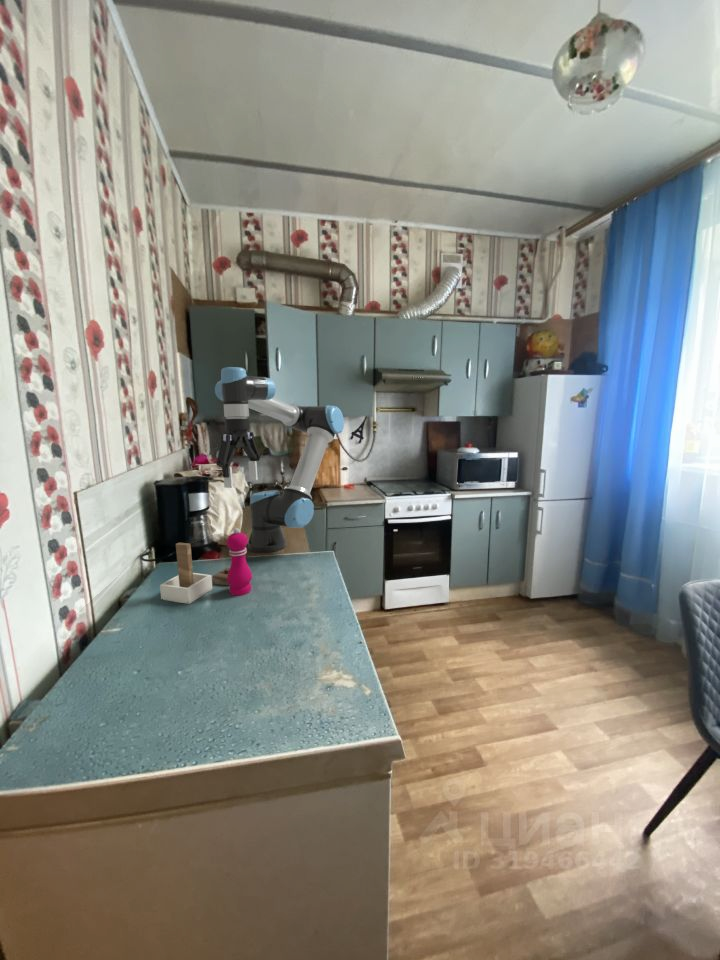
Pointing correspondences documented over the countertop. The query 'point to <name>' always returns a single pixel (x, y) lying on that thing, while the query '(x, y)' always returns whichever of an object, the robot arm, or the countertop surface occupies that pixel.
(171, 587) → the white storage tray
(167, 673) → the countertop surface
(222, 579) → the holder
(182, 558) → the brown wooden block
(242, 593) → the pepper mill
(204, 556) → the countertop surface
